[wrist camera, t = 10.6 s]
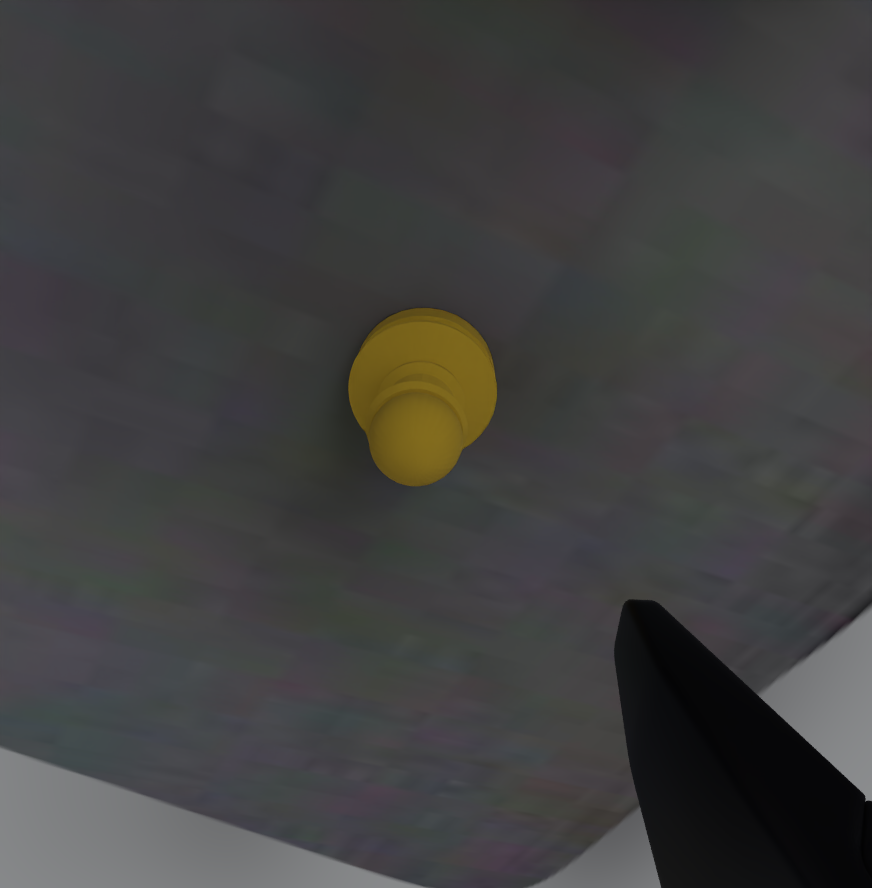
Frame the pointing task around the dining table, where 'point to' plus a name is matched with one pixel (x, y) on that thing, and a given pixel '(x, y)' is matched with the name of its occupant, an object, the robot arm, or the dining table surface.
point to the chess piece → (422, 393)
